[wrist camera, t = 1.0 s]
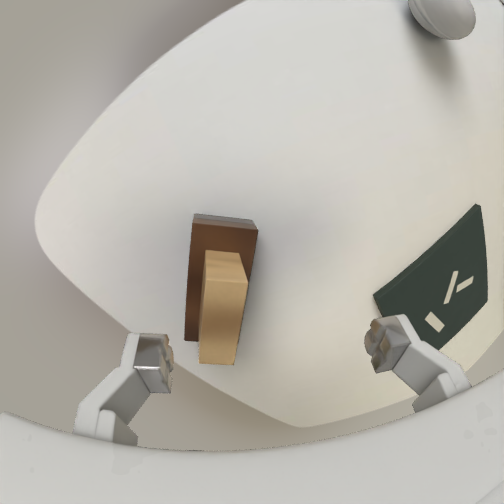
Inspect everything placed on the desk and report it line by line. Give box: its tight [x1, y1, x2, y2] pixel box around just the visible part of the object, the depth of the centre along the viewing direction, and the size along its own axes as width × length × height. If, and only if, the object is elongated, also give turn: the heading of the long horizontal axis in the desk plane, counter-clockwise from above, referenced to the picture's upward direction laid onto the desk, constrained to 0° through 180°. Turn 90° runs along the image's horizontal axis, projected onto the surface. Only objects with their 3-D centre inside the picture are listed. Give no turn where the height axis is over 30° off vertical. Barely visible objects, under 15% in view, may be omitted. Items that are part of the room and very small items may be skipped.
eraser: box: [184, 214, 258, 365], centre depth 22 cm, size 11×5×8 cm, turn 171°
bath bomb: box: [408, 0, 476, 40], centre depth 14 cm, size 8×8×8 cm
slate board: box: [373, 204, 488, 350], centre depth 32 cm, size 20×20×1 cm
